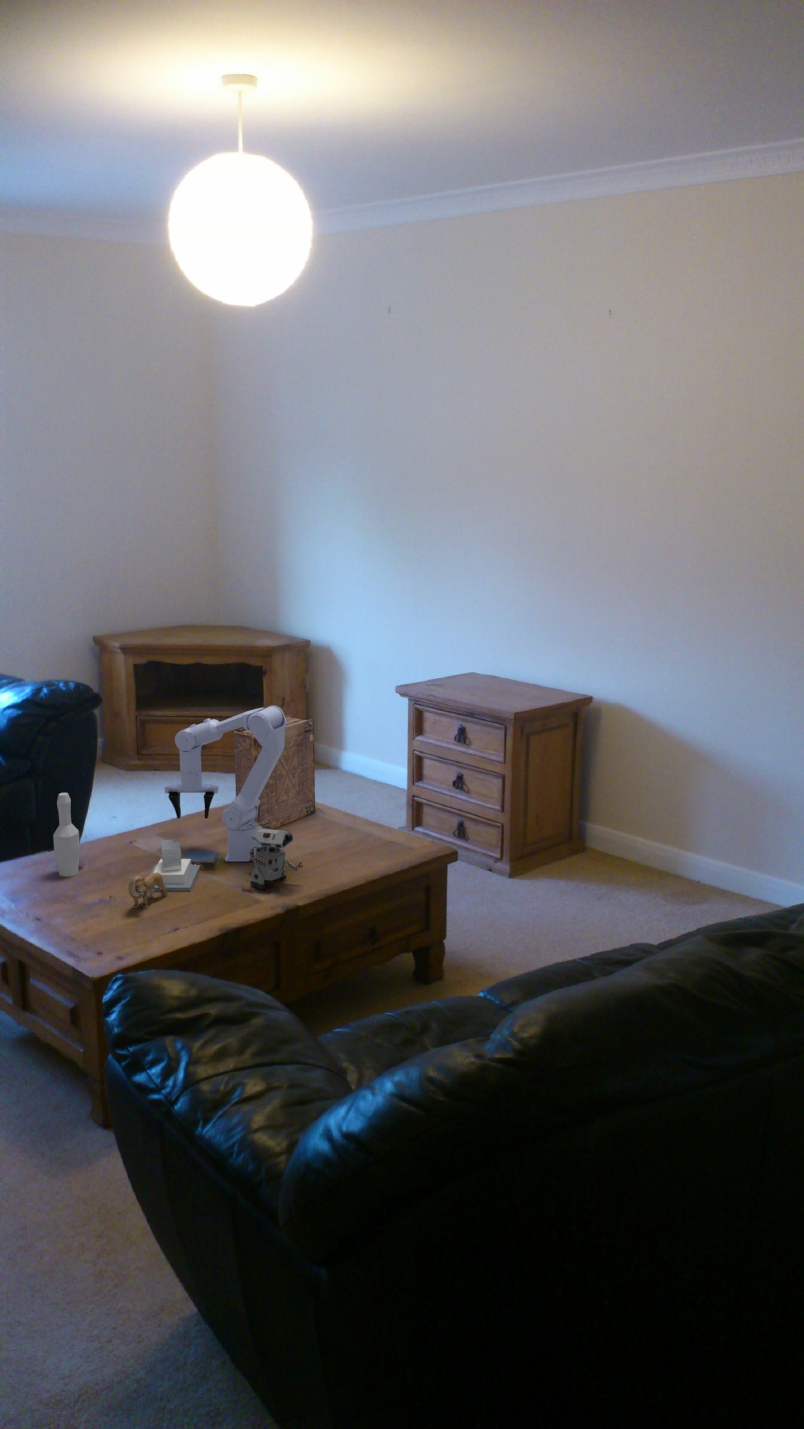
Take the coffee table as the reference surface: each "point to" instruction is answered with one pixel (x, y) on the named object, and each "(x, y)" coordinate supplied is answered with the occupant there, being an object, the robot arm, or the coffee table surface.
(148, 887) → the lion figurine
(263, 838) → the figurine
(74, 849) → the faceted bottle
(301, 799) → the book
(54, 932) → the coffee table surface
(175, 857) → the block
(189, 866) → the display stand
